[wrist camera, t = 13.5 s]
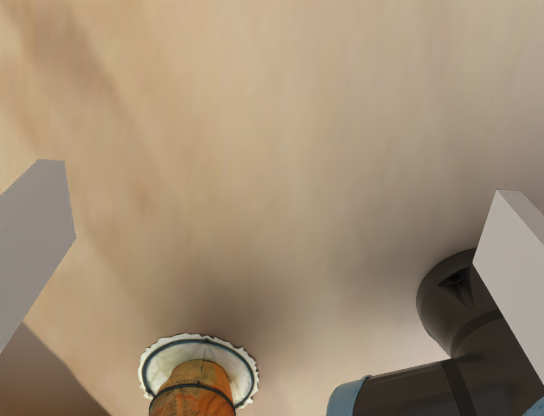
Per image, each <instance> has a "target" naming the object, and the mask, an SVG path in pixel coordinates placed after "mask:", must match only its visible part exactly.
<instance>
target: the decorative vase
mask: <svg viewBox="0 0 544 416" xmlns="http://www.w3.org/2000/svg"><path fill="white" fill-rule="evenodd" d="M255 364H256V363H255V361H254V360H253V359H252V358H251V357H248V355H247V352H245V351H243V347H242V348H240V349H236V348H233V345H231V344H230V342H224V341H222V340H220V339H218V338H216V337H215V338H214V339H212V338H211V337H209V336H208V335H207V336H204V337H201V336H200V335H199V334H194V335H190V334H187V333H184V334H181V335H175V336H174V337H173V338H160V339H159V341H158V342H157V343H155V344H152V346H151V348H146V352H144V353H143V354H142V355H141V362H140V366H139V368H138V374H139V380H140V382H141V385H140V387H141V388H143V389H144V392H145V394H144V395H143V397H145V398H147V399H150V400H152V401H151V403H150V406H149V416H236V411H235V410H236V409H238V408H244V407H245V406H246V405H247V404H248V403H252V402H253V400H252V399H250V397H251V396H252V394H253V393H255V392H257V391H258V389H257V382H258V381H259V378H258V377H257V374H258V373H259V372H255V371H256V369H257V367H255V366H254V365H255ZM240 410H241V409H240Z"/></svg>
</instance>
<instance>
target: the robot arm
mask: <svg viewBox="0 0 544 416" xmlns="http://www.w3.org/2000/svg"><path fill="white" fill-rule="evenodd" d="M75 239H76V235H75V228H74V222H73V215H72V209H71V202H70V195H69V189H68V182H67V176H66V169H65V162H64V161H58V160H43V159H38V160H37V161H36V162H35V163H34V164H33V165H32V166H31V167H30V168H29V169H28V170H27V171H26V172H25V173H24V174H23V175H21V176H20V177H19V178H18V179H17V180H16V181H15V182H14V183H13V184H12V185H11V186H10V187H9V188H8V189H7V190H6V191H5V192H4V193H3V194H2V195H1V196H0V353H1V352H2V350H3V349H4V347H5V346H6V344H7V343H8V341H9V340H10V338H11V337H12V335H13V334H14V332H15V331H16V329H17V328H18V326H19V324H20V323H21V321H22V320H23V318H24V317H25V315H26V314H27V312H28V311H29V309H30V308H31V306H32V305H33V303H34V301H35V300H36V298H37V297H38V295H39V294H40V292H41V291H42V289H43V288H44V286H45V285H46V283H47V282H48V280H49V279H50V277H51V275H52V274H53V272H54V271H55V269H56V268H57V266H58V265H59V263H60V262H61V260H62V259H63V257H64V256H65V254H66V253H67V251H68V249H69V248H70V246H71V245H72V243H73V242H74V240H75ZM416 306H417V311H418V314H419V317H420V319H421V322H422V325H423V327H424V328H425V330H426V331H427V333H428V334H429V335H430V336H431V337H432V338H433V339H434V340H435V341H436V342H437V343H438V344H439V345H440V346H441V348H442V349H443V350H444V351H445V352H446V353H447V354H448V355H449V356H450V358H451V359H447V360H443V361H438V362H433V363H429V364H424V365H420V366H415V367H411V368H407V369H402V370H398V371H393V372H389V373H384V374H380V375H376V376H372V375H367V376H364V377H363V378H362V379H360V380H356V381H352V382H349V383H345V384H342V385H340V386H338V387H337V388H336V389H335V390H334V391H333V393H332V394H331V396H330V398H329V401H328V406H327V413H326V416H544V215H543V214H542V213H541V212H540V211H539V210H538V209H537V208H536V207H535V206H534V204H533V203H532V202H531V201H530V200H529V199H528V198H527V197H526V196H525V195H524V194H523V193H522V192H521V191H512V190H497V189H496V192H495V195H494V198H493V201H492V204H491V207H490V210H489V213H488V217H487V220H486V223H485V226H484V229H483V232H482V235H481V238H480V241H479V244H478V247H477V249H472V250H468V251H464V252H461V253H458V254H456V255H454V256H452V257H450V258H448V259H446V260H444V261H443V262H441V263H440V264H438V265H437V266H436V267H435V268H434V269H433V270H432V271H431V272H430V273H429V274H428V275H427V276H426V277H425V279H424V280H423V282H422V283H421V285H420V288H419V290H418V293H417V299H416Z"/></svg>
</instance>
